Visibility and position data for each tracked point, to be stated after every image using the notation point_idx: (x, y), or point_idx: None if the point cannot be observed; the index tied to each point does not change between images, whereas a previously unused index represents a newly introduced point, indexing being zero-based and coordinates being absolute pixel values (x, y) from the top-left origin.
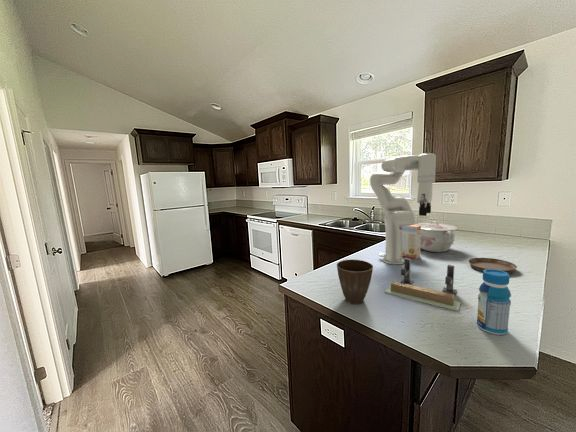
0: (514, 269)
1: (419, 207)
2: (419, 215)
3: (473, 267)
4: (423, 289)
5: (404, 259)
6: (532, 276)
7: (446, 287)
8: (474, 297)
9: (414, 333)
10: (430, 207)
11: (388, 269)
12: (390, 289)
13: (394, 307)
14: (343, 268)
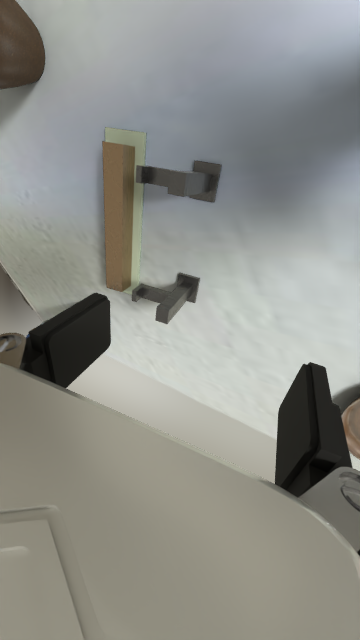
0: (352, 453)
1: (30, 334)
2: (98, 295)
3: None
4: (113, 233)
5: (170, 170)
6: None
7: (180, 284)
8: (178, 324)
9: (14, 216)
10: (279, 471)
11: (333, 70)
12: (123, 141)
13: (58, 171)
14: None
